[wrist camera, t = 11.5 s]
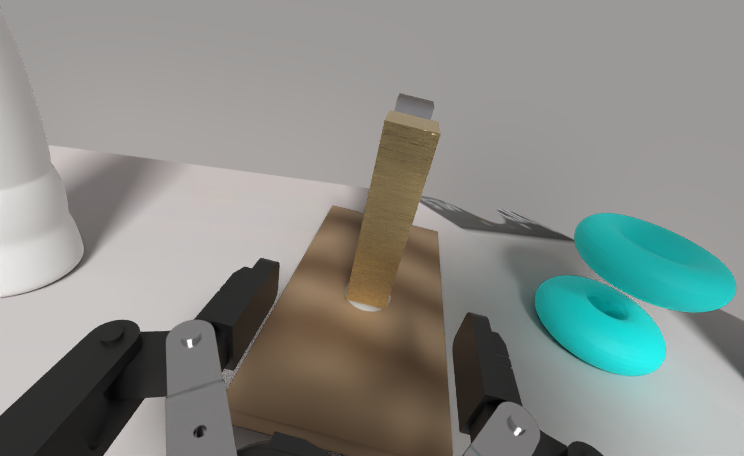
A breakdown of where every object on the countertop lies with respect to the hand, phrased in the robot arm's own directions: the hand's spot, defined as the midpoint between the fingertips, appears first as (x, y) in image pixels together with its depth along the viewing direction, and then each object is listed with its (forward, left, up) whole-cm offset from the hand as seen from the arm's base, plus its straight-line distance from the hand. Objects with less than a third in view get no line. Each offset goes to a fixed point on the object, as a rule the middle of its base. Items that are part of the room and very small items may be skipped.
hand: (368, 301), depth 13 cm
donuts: (-23, -5, -9) cm, 25 cm away
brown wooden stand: (-3, -8, -9) cm, 13 cm away
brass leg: (-3, -8, -7) cm, 11 cm away
